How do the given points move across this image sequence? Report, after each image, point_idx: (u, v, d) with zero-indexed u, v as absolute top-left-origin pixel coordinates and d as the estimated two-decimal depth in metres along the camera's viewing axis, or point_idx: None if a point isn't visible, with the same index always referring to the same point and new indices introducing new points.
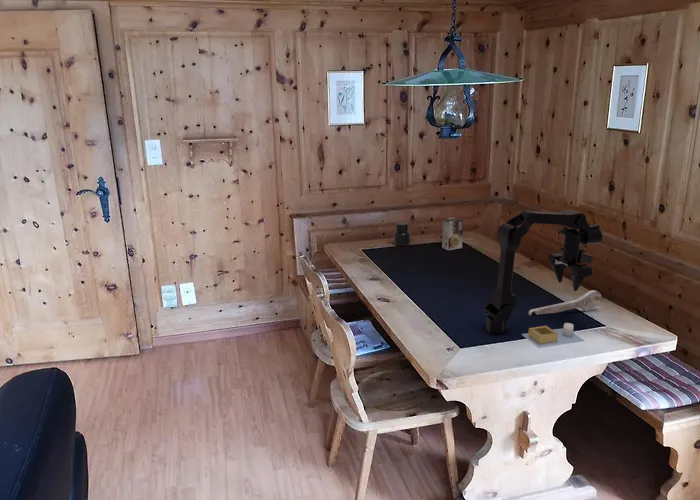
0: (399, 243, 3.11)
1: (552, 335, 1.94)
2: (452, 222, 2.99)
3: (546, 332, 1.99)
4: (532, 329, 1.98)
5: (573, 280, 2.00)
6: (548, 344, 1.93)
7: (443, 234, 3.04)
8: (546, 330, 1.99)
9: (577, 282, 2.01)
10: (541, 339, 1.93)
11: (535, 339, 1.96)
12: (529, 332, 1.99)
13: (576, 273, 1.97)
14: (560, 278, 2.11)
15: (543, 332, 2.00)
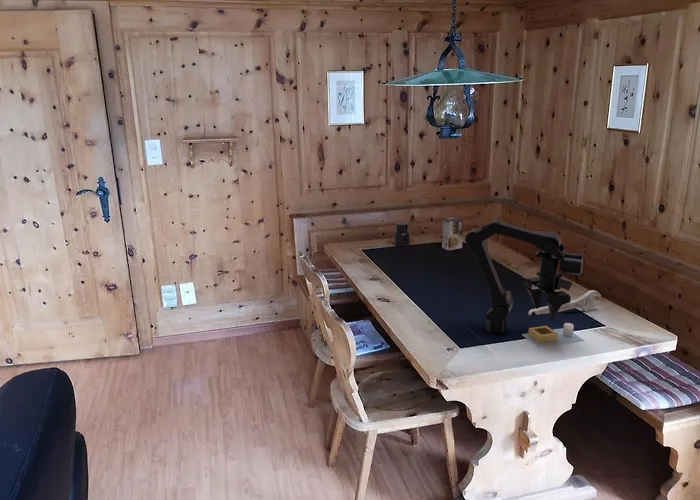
0: (399, 243, 3.11)
1: (552, 335, 1.94)
2: (452, 222, 2.99)
3: (546, 332, 1.99)
4: (532, 329, 1.98)
5: (550, 308, 1.88)
6: (548, 344, 1.93)
7: (443, 234, 3.04)
8: (546, 330, 1.99)
9: (554, 309, 1.88)
10: (541, 339, 1.93)
11: (535, 339, 1.96)
12: (529, 332, 1.99)
13: (552, 301, 1.84)
14: (537, 304, 1.98)
15: (543, 332, 2.00)
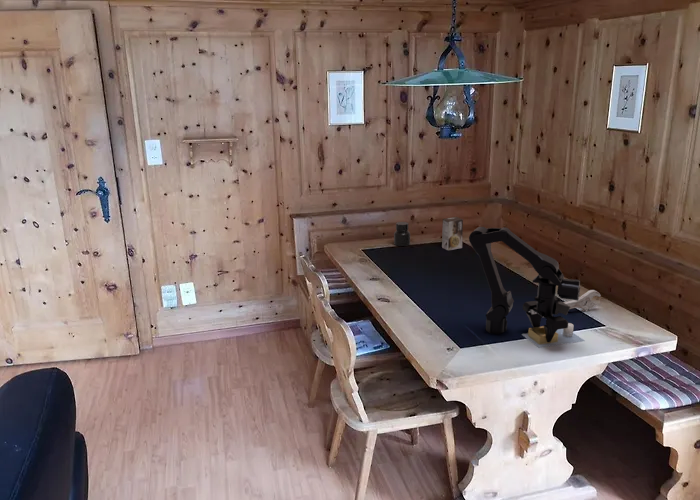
0: (399, 243, 3.11)
1: None
2: (452, 222, 2.99)
3: None
4: (532, 329, 1.98)
5: (546, 331, 1.91)
6: (548, 344, 1.93)
7: (443, 234, 3.04)
8: None
9: (550, 333, 1.92)
10: (541, 339, 1.93)
11: (535, 339, 1.96)
12: (529, 332, 1.99)
13: (550, 326, 1.87)
14: None
15: (543, 332, 2.00)
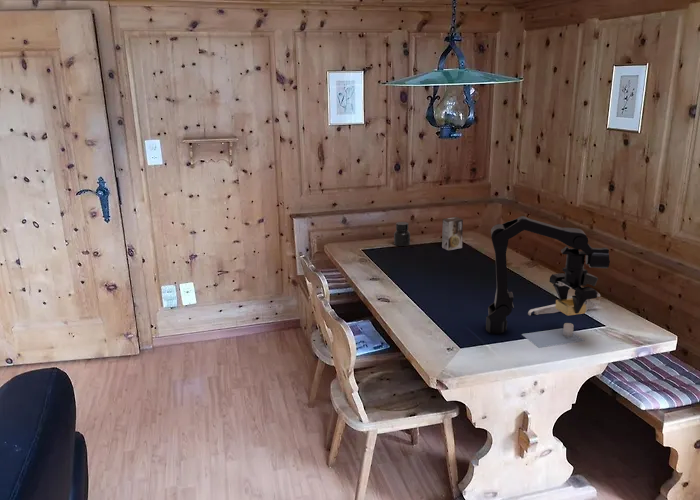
0: (399, 243, 3.11)
1: None
2: (452, 222, 2.99)
3: (573, 304, 1.99)
4: (559, 301, 1.98)
5: (574, 302, 1.91)
6: (548, 344, 1.93)
7: (443, 234, 3.04)
8: None
9: (578, 304, 1.91)
10: (569, 310, 1.93)
11: (563, 310, 1.95)
12: (556, 304, 1.99)
13: (579, 296, 1.86)
14: None
15: (570, 304, 2.00)
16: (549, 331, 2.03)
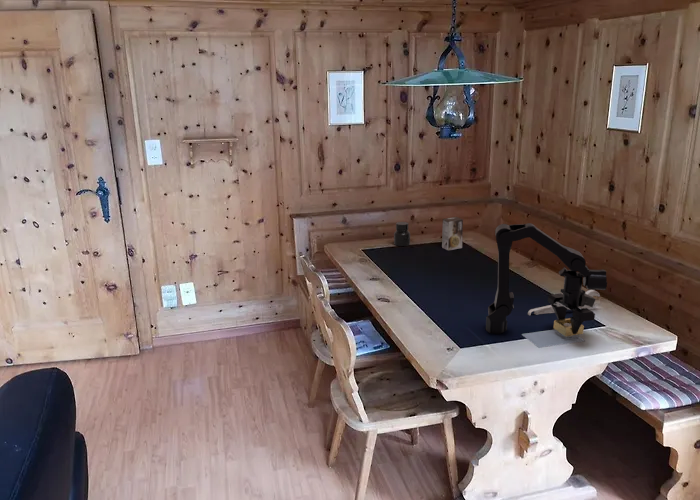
0: (399, 243, 3.11)
1: None
2: (452, 222, 2.99)
3: None
4: (558, 321, 2.00)
5: (572, 323, 1.93)
6: (548, 344, 1.93)
7: (443, 234, 3.04)
8: None
9: (576, 325, 1.94)
10: (567, 331, 1.95)
11: (561, 331, 1.97)
12: (554, 324, 2.01)
13: (577, 318, 1.89)
14: None
15: None
16: (549, 331, 2.03)
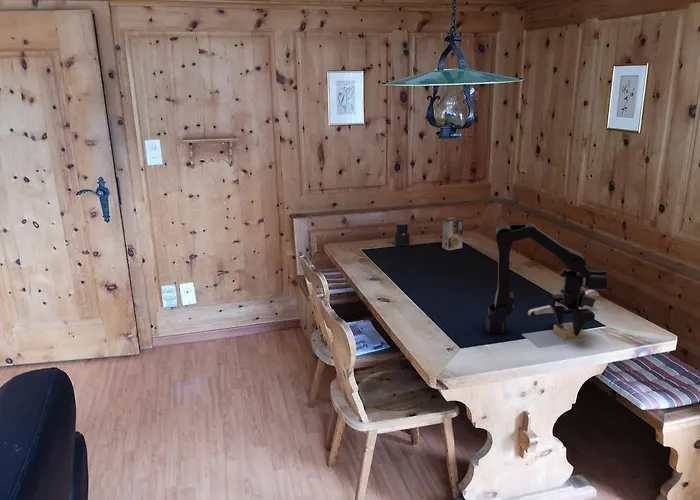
0: (399, 243, 3.11)
1: None
2: (452, 222, 2.99)
3: None
4: (557, 325, 2.00)
5: (574, 325, 1.92)
6: (548, 344, 1.93)
7: (443, 234, 3.04)
8: None
9: (578, 326, 1.93)
10: (567, 335, 1.95)
11: (560, 335, 1.98)
12: (554, 328, 2.01)
13: (577, 318, 1.89)
14: (560, 320, 2.03)
15: None
16: (549, 331, 2.03)
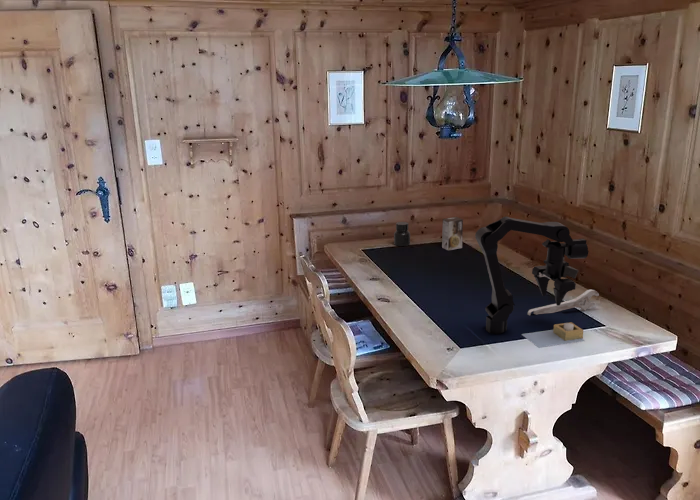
0: (399, 243, 3.11)
1: (577, 331, 1.96)
2: (452, 222, 2.99)
3: None
4: (557, 325, 2.00)
5: (555, 294, 1.96)
6: (548, 344, 1.93)
7: (443, 234, 3.04)
8: None
9: (559, 296, 1.96)
10: (567, 335, 1.95)
11: (560, 335, 1.98)
12: (554, 328, 2.01)
13: (558, 287, 1.92)
14: (544, 291, 2.07)
15: None
16: (549, 331, 2.03)
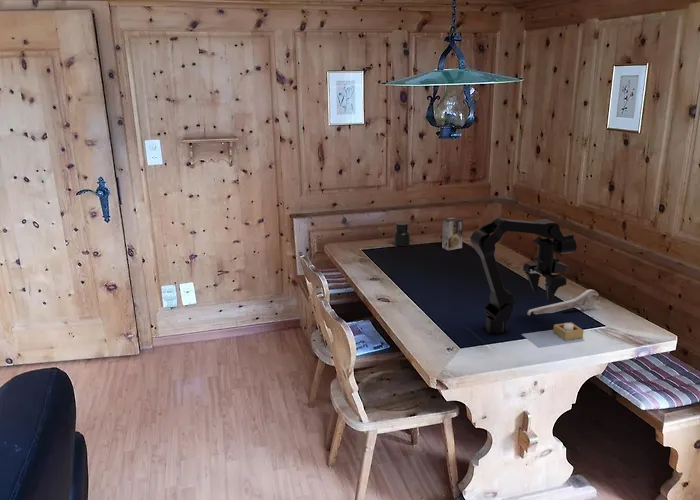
0: (399, 243, 3.11)
1: (577, 331, 1.96)
2: (452, 222, 2.99)
3: None
4: (557, 325, 2.00)
5: (547, 290, 1.99)
6: (548, 344, 1.93)
7: (443, 234, 3.04)
8: None
9: (551, 292, 1.99)
10: (567, 335, 1.95)
11: (560, 335, 1.98)
12: (554, 328, 2.01)
13: (549, 283, 1.95)
14: (535, 287, 2.10)
15: None
16: (549, 331, 2.03)
